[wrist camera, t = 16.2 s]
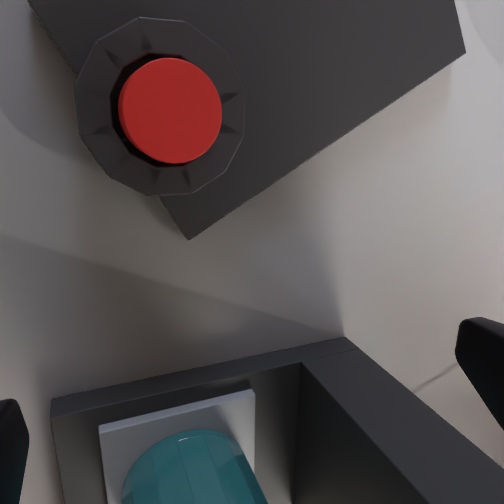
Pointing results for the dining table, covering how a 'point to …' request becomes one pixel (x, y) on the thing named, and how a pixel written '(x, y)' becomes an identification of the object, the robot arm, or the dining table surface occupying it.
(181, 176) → the control block
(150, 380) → the coffee maker
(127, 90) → the button
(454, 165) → the dining table surface
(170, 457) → the cup
